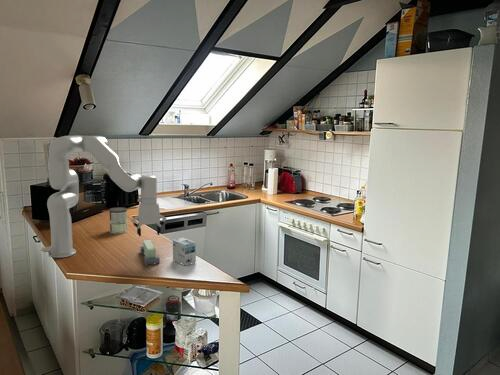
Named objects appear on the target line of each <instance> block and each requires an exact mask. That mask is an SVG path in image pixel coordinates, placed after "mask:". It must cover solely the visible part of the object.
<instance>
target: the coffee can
mask: <svg viewBox="0 0 500 375" xmlns="http://www.w3.org/2000/svg"><path fill="white" fill-rule="evenodd" d="M108 210H109V232H110V234H115V235H117V234H124V233H127V232H128V208H127V207H122V206H120V207H119V206H118V207H111V208H109V209H108Z"/></svg>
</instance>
